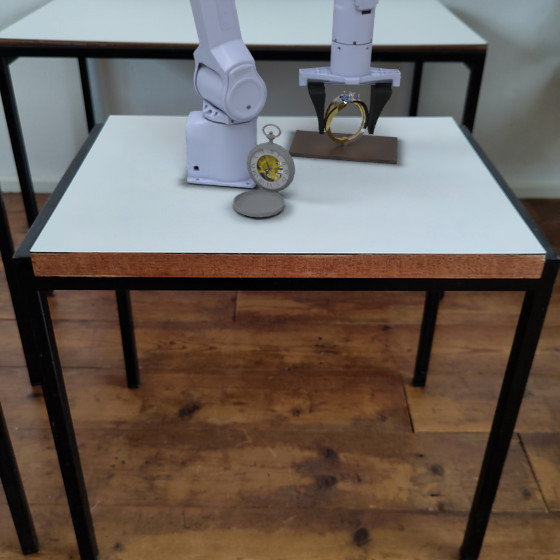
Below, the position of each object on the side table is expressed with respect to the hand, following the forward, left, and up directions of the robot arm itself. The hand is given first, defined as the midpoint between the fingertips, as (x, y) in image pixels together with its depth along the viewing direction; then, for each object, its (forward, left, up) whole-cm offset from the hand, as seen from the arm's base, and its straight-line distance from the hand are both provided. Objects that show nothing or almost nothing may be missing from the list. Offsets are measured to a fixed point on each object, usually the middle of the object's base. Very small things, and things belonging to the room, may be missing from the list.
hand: (345, 131), depth 105 cm
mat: (0, 0, -3) cm, 3 cm away
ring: (0, 0, -2) cm, 2 cm away
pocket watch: (-9, -21, -3) cm, 23 cm away
